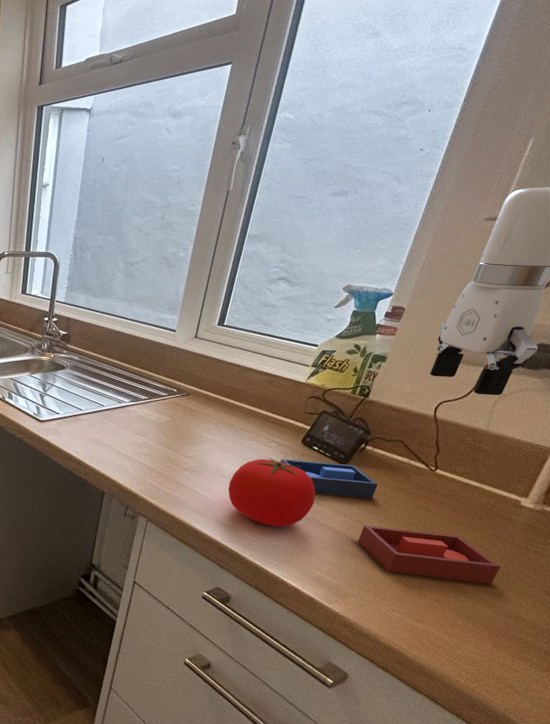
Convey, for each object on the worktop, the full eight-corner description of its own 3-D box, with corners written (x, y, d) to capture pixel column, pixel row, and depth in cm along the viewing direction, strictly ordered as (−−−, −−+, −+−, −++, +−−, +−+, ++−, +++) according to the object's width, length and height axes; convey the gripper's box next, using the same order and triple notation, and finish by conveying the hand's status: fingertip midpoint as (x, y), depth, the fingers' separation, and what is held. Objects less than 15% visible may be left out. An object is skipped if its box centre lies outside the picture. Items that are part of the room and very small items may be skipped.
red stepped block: (404, 562, 78) (412, 545, 77) (391, 549, 81) (398, 533, 80) (471, 570, 76) (480, 553, 75) (455, 557, 79) (463, 540, 78)
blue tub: (348, 479, 103) (353, 465, 102) (372, 498, 96) (378, 483, 95) (277, 472, 106) (281, 459, 104) (295, 490, 99) (299, 476, 98)
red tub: (451, 552, 81) (459, 535, 80) (491, 584, 74) (500, 566, 73) (357, 541, 84) (364, 525, 82) (388, 571, 77) (395, 554, 76)
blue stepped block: (343, 481, 101) (349, 467, 100) (353, 488, 98) (358, 474, 97) (295, 476, 103) (300, 462, 102) (303, 484, 100) (308, 470, 99)
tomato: (312, 519, 90) (332, 464, 86) (289, 546, 83) (310, 487, 79) (238, 494, 98) (253, 442, 94) (211, 516, 91) (226, 462, 87)
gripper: (439, 270, 88) (401, 368, 94) (528, 283, 72) (475, 400, 79) (494, 271, 86) (452, 371, 93) (598, 284, 71) (538, 403, 77)
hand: (463, 384), depth 86 cm, fingers open, 9 cm apart
